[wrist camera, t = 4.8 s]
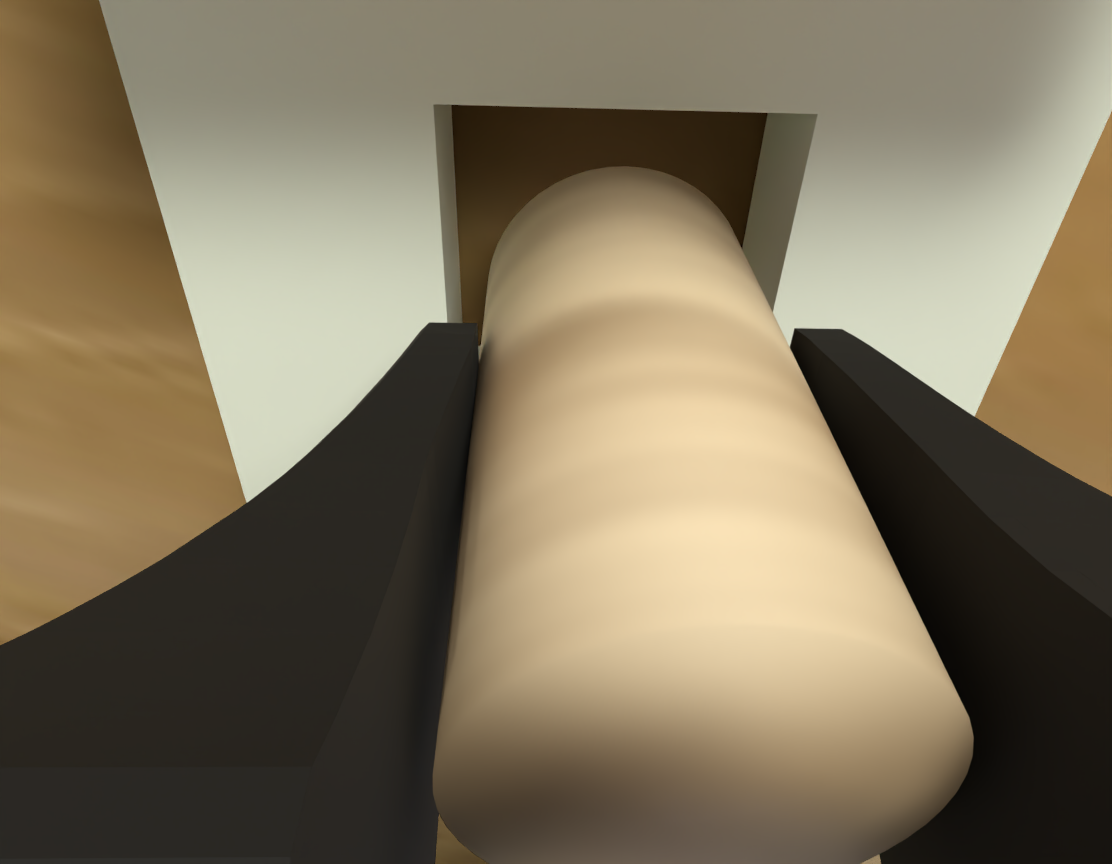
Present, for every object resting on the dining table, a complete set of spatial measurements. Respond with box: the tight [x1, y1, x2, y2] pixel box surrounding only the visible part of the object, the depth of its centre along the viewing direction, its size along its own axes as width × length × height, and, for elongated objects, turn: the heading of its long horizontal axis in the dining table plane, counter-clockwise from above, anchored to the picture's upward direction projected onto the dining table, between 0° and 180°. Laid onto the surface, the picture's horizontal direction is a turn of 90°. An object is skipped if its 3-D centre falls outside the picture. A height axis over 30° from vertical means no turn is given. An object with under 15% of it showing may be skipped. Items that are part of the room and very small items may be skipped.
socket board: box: [99, 0, 1112, 502], centre depth 13 cm, size 18×14×2 cm
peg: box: [433, 166, 974, 864], centre depth 9 cm, size 4×4×8 cm
